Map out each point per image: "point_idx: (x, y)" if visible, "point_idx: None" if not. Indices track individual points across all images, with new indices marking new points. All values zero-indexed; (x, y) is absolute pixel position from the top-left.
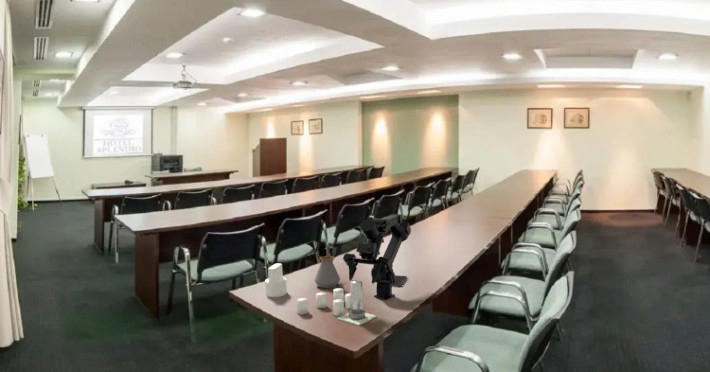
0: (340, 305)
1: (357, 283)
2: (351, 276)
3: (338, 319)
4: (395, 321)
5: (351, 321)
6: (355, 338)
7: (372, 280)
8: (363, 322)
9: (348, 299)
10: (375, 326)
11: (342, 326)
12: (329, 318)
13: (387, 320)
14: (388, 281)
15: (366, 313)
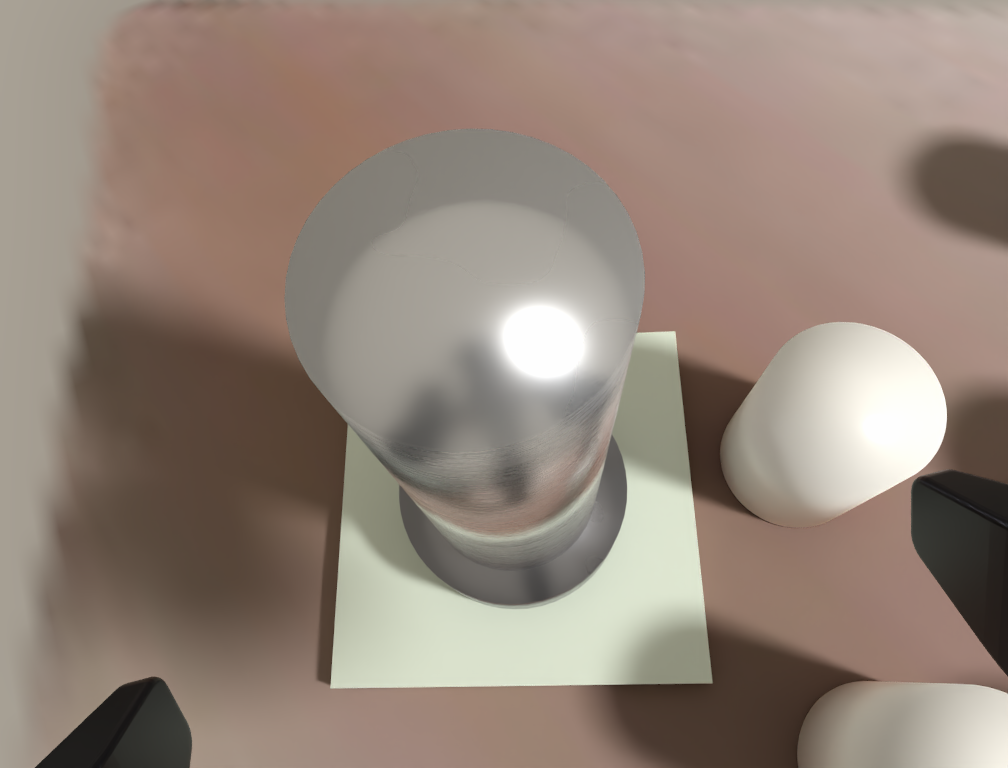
0: (756, 384)
1: (332, 189)
2: (1005, 573)
3: (656, 339)
4: (48, 727)
5: None
6: (214, 140)
7: (106, 713)
8: (350, 427)
9: (903, 688)
10: (192, 448)
11: None
12: (761, 303)
13: None
14: None
15: (489, 672)
